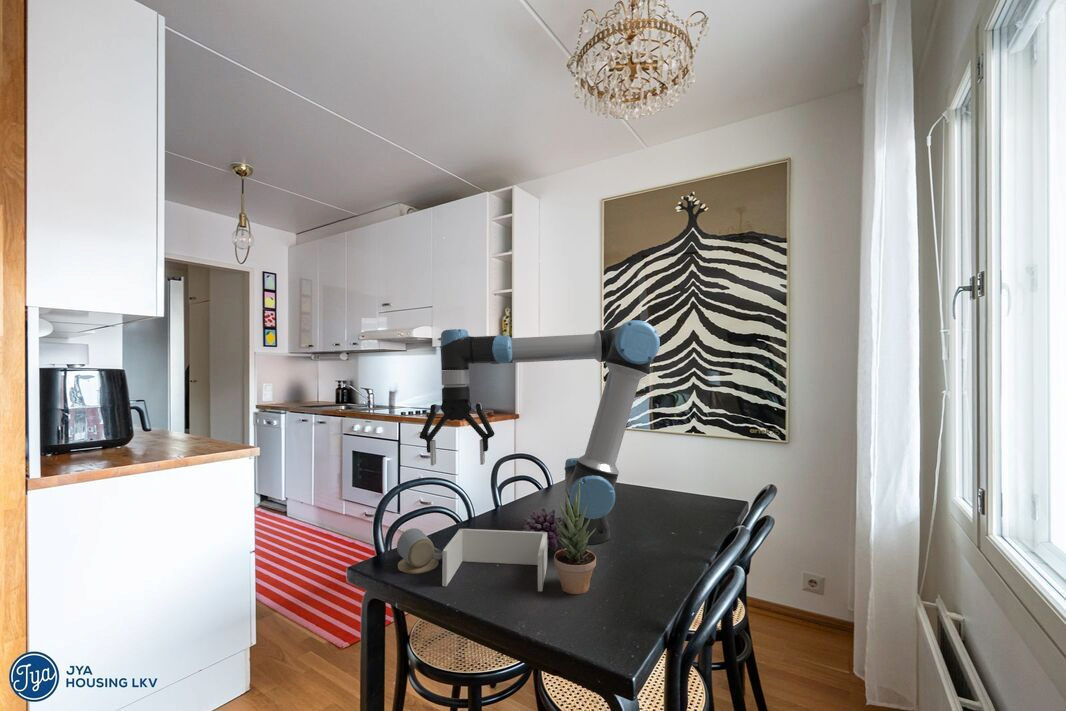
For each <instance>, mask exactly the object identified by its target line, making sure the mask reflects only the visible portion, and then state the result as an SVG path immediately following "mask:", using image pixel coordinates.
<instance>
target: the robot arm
mask: <svg viewBox="0 0 1066 711" xmlns="http://www.w3.org/2000/svg"><path fill="white" fill-rule="evenodd" d="M660 341H661V340H660V336H659V333H658V332H657V330H656V329H655V327H654V326H653V325H652V324H650V323H648V322H647V321H643V320H637V319H636V320H635V319H633V320H628V321H626V322H623V323H622V324H621V325H619V326H616V327H613V328H609V329H599V330H596V331H595V332H594V333H588V334H571V335H569V334H568V335H566V334H565V335H548V336H547V335H546V336H531V337H530V336H528V337H511V336H509V335H500V334H497V335H483V336H470V335H469V332H468V330H466V329H461V328H459V329H456V328H455V329H452V328H451V329H445V330H443V331H442V332H441V334H440V347H439V348H440V363H441V366H440V367H441V369H440V371H441V385H442V386H443V387H442V388H441V404H440V405H439V404H437V403H436V404H435V403H434V404H430V409H429V415H428V417H427V419H426V420H425V423H424V425H423V427H422V430H421V432H420V434H419V439H421V440H424V441H426V453H428V454H429V455H430V456H429V457H430V466H435V465H436V464H437V449H436V445H437V442H436V440H437V439H434V437H435V436H436V435H437V434H438V433H439V432H440V430H441V428H442V427H444V425H445V423H446V422H447V421H448V420H449V421H450V422H451V421H452V422H453V421H463V420H465V421H466V422H467V423H468V425H470V427H472V429H474V431H475V432H476V433H477V434H478V436H479V437H480V438H481V439H479V459H480V460H479V463H480V464H479V465H484V464H485V463H486V456H485V455H486V454H485V453H486V452H487V451H489V439H491V438H492V437H494V436H495V431H494V429H493V428H492V425H491V424H490V422H489V420H488V418H487V417H486V414H485V412H484V410H483V404H482V403H481V402H477V403H474V404H472V403H471V393H470V392H471V391H470V386H468V385H469V384H470V367H469V366H470V364H472V365H474V364H491V365H500V364H511V363H512V364H515V363H517V364H518V363H534V362H535V363H537V362H553V361H554V362H556V361H575V360H576V361H578V360H595V361H597V362H598V363H604V362H605V366H606V367H607V369H608V374H607V377H606V381H605V383H604V384H605V385H604V388H603V390H602V391H603V392H602V394H601V398H600V401H599V404H598V408H597V411H596V413H595V414H596V415H595V418H594V422H593V425H592V429H591V432H590V435H589V438H588V442H587V446H586V449H585V451H584V452H585V453H584V454H583V455H581V456H579V457H573V458H572V457H571V458H567V459H566V460H565V461H564V462H565V464H564V471H565V473H564V475H565V476H564V477H565V478H564V491H565V490H566V493H567V496H568V499H569V502H570V505H571V508H572V512H573V504H574V500H575V493H576V495H577V496H578V484H579V480H580V502H579V516H578V519H579V517H580V516H581V514H582V512H583V510H584V508H585V507H586V505H587V510H586V513H585V516H584V520H583V525H582V527H583V526H584V525H585V524H586V522H587V521H588V519H589V518H590V517H591V518H590V522H589V524H588V526H587V528H586V533H587V532H588V531H589V533H588V535H589V534H590V533H591V532H592V531H593V530H594V529H595V528H596V529H595V531H594V532H593V533H592V535H591V536H590V537H589V538H588V543H587V544H586V545H596V544H601V543H604V542H607V541H608V540H610V538H611V529H610V526H609V522H608V519H607V515H608V514H609V513H610V512H611V511H612V510H613V508H614V505H615V501H616V491H615V488H616V483H617V480H618V477H619V473H620V472H619V469H618V468H617V464H616V462H617V459H618V456H619V453H620V450H621V445H622V443H623V442H622V441H623V439H624V435H625V431H626V428H627V426H628V422H629V418H630V415H631V411H632V408H633V404H634V402H635V397H636V394H637V390H638V387H639V384H640V380H642V379H643V378H646V376H648V374H649V370H650V368H651V367H650V366H651V364H652V360H654V359H655V357H656V356H657V354H658V353H659V350H660V345H661V342H660ZM472 409H473V411H474V412H476V414H477V415H478V418H479V420H480V422H481V423H482V426H483V427H484V429H485V430H484V429H483V427H481V426H480V425H479V424H478V422H477V421H476V420H475V419H474V417H473V416H472V415H471V414H470V412H471V410H472ZM440 411H441V412H442V413H443V415H442V416H441V417H440V419H439V421H438V422H437V424H436V425H435V426H434V427H433V429H431V427H432V425H433V422H434V421H435V417H436V416H437V413H439V412H440ZM430 429H431V431H430ZM429 431H430V432H429ZM428 433H429V434H428ZM564 511H565V513H566V515H567V516H568V509H567V504H566V498H565V497H564ZM561 518H562V519H563V520H562V521H561V522H560V524H561V525H562V526H564V527H565V528H566V529H568V528H567V525H566V523H565V520H564V518H563V516H562V517H561ZM562 534H563V535H564V536H565V534H564V533H562ZM588 535H587V536H588ZM560 536H561V535H560ZM565 537H566V536H565ZM561 538H562V537H561ZM566 538H567V537H566Z"/></svg>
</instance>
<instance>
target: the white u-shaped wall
mask: <svg viewBox="0 0 1066 711" xmlns="http://www.w3.org/2000/svg"><path fill="white" fill-rule="evenodd" d="M442 553H443V555H442V573H441V574H442V575H441V576H442V577H441V578H442V583H441V585H442V587H447V586H448V585H449V583H450V582H451V580H452V578H453V577H454V575H455V574H456V573H457V570H458V569H459V567H460V566H461V565H462V563H463V562H464V563H465V562H469V563H487V564H488V563H489V564H491V563H493V564H506V565H507V564H511V565H526V566H527V565H530V566H532V565H533V566H537V592H543V588H544V585H545V584H544V583H545V578H546V573H547V568H548V549H547V532H529V531H522V530H501V529H500V530H499V529H480V528H479V529H476V528H475V529H473V528H459V529H458V530H457V532H456V533H455V535H454V536H453V537H452V538H451V540H449V542H447V544H446V546H445V547H444V548H443V550H442Z"/></svg>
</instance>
